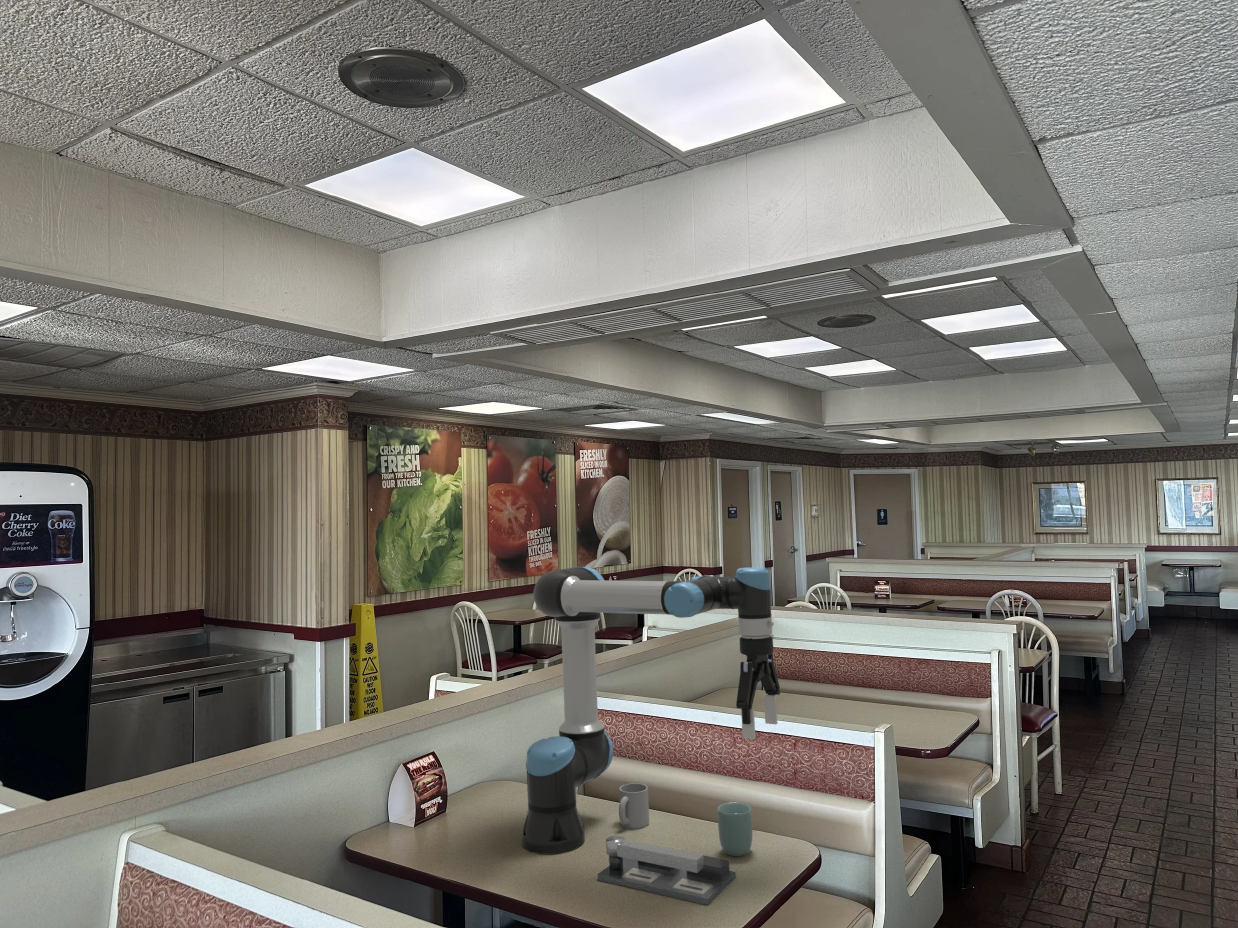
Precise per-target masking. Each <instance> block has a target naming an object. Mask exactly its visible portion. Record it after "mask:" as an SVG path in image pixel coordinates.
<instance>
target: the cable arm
mask: <svg viewBox="0 0 1238 928" xmlns="http://www.w3.org/2000/svg"><path fill="white" fill-rule="evenodd" d="M605 847H606V848H605V849H606V855H608V857H609V856H619V857H624V858H629V859H633V860H638V861H643V862H648V863H653V864H657V865H662V866H667V867H672V868H676V869H681V870H686V871H691V872H696V873H698V872H699V871H700V870H701V869H702V868H703V867H704V862H703V855H704V854H701V853H695V852H690V851H686V850H680V849H675V848H670V847H665V846H660V845H654V844H649V843H644V842H640V841H635V840H629V839H625V837H623V836H622V835H611V836H608V837H606V840H605Z"/></svg>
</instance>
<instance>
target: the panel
mask: <svg viewBox="0 0 1238 928" xmlns="http://www.w3.org/2000/svg"><path fill="white" fill-rule="evenodd" d="M702 855H703V862H704V867H703V868H702V869H701V870H700V871H699V872H698V873H696V872H691V871H686V870H681V869H676V868H672V867H667V866H662V865H657V864H653V863H648V862H643V861H638V860H633V859H629V858H624V857H619V856H609V855H608V862H609V865H608V866H607V867H605V868H604V869H602V870H601V871H600V872H599V873H597V881H600V882H605V883H609V884H612V885H613V884H614V885H616V886H617V885H618V886H623V887H626V888H631V889H635V890H640V891H642V892H643V891H644V892H648V893H653V894H656V895H661V896H666V897H670V898H674V899H678V900H679V899H680V900H683V901H686V902H687V901H688V902H691V903H696V904H701V905H704V906H705V905H706V906H708V905H710V904H711V903H712V902H713V901H714V900H715V899H716V898H717V897H718V896H719V895H720V894H721V893H722V892H723V891H724V890H725V889H726V888H727V887H728V886H729V885H730V884H731V883H732V882H733V881H734V880H735V879H736V878H737V876H736V875H737V873H736V871H734V870H731V869H730V860H728V859H725V858H724V859H723V858H719V857H714V856H709V855H704V854H702Z"/></svg>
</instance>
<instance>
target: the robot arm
mask: <svg viewBox="0 0 1238 928" xmlns="http://www.w3.org/2000/svg"><path fill="white" fill-rule="evenodd" d="M735 573H736V574H735V576H711V575H710V576H709V575H703V576H702V575H701V576H700V575H699V576H693V577H691V578H690V579H689V580H677V581H676V580H675V581H674V580H605V579H604V577H603V575H602V574H600V572H598V571H597V570H596V569H594V568H592V567H588V566H572V567H567V568H562V569H561V568H560V569H553V570H549V571H547V572H545V573H544V574H543V575H541V576H540V577H539V578H538V579H537V581H536V583H535V585H534V588H533V600H534V604H535V605H536V607H537V609H538V610H539V611H540V612H541V613H542V614H544V615H546V616H548V617H550V618H551V617H553V618H554V619H555V620H554V621H555V622H556V623H557V625H559V627H560V629H561V651H562V652H561V653H562V655H561V656H562V657H561V658H562V681H563V684H562V685H563V710H564V712H563V713H564V721H563V722H562V723H561V724H560V726H559V727H558V733H559V734H558V736H549V737H548V738H545V737H544V738H542V739H539V740H537V741H535V742H534V743H532V744H531V745H530V746H529V747H528V749H527V752H526V760H525V761H526V762H525V769H526V782H527V783H526V785H527V789H526V790H527V804H528V805H527V809H528V810H527V814H526V818H525V821H524V825H523V827H522V828H523V829H522V832H521V846H522V847H523V848H524V849H525V850H526V851H529V852H531V853H535V854H544V855H546V854H547V855H551V854H552V855H553V854H562V853H566V852H570V851H572V850H575V849H578V848H579V847H580V846H582V845H583V844H584V843H585V839H586V837H585V828H584V826H583V824H582V820H581V817H580V812H579V810H578V808H577V790H576V789H577V788H578V787H580V786H581V785H584V784H585V783H588V782H589V781H592V780H594V779H596V778H597V779H598V777H600V776H601V775H602V774H603V773H605V772H606V771H607V769H608V768H609V767H610V765H611V764H612V761H613V756H614V746H613V741H612V740H611V738H610V737H609V735H608V733H607V732H606V731H605V725H604V723H602V721H600V719H599V714H598V713H599V712H598V711H599V710H598V690H597V689H598V687H597V685H598V683H597V681H598V680H597V661H596V660H597V656H596V633H595V631H596V630H595V627H596V624H598V622H599V621H600V620H601V614H602V613H603V614H604V613H607V614H634V615H635V614H636V615H637V614H638V615H639V614H640V615H668V616H669V615H670V616H672V617H676V618H679V619H681V618H683V619H684V618H691V617H694V616H697V615H699V614H702V613H706V612H710V611H712V610H737V613H738V615H737V616H738V617H737V619H738V634H739V636H741V637H740V638H738V639H739V652H740V654H742V655H743V656H744V655H745V656H746V661H741V662H740V666H739V668H740V669H739V670H740V671H739V672H740V673H739V674H740V675H739V681H738V689H737V695H736V696H737V697H736V703H735V705H736V708H737V709H740V710H741V711H740V713H741V714H740V715H741V732H742V733H741V735H742V739H748V740H749V739H750V740H755V739H756V726H755V725H756V722H755V709H754V708H753V704H754V699H755V695H756V691H757V688H758V687H757V686H758V683H759V682H760V683H761V685H762V688H763V690H764V692H765V694H763V701H764V702H763V703H764V704H763V705H764V722H765V724H769V725H778V709H777V707H778V706H777V695H778V696H780V695H781V690H780V683H779V679H778V675H777V671H776V666H775V663H774V662H775V661H774V655H773V653H774V638H773V637H772V636H771V635H773V626H774V625H775V624H774V621H772V619H773V618H772V603H771V602H772V598H771V597H772V596H771V592H772V591H771V590H772V589H771V588H772V587H771V582H770V581H771V580H770V573H769V570H768V569H767V568H765V567H760V566H759V567H757V566H756V567H754V566H753V567H739V568H738V569H737V570H736V572H735Z"/></svg>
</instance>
